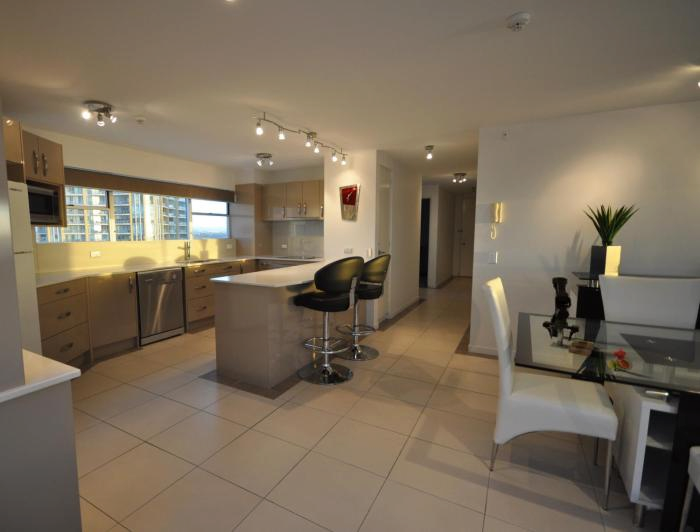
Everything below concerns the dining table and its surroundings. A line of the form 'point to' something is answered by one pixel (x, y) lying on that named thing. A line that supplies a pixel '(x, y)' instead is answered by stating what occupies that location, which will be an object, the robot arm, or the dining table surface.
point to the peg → (560, 338)
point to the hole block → (581, 347)
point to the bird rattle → (625, 362)
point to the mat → (565, 346)
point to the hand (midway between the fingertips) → (560, 340)
